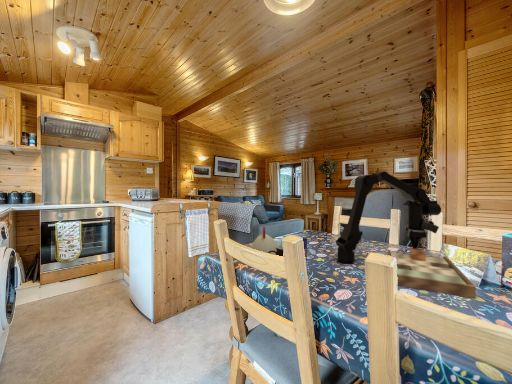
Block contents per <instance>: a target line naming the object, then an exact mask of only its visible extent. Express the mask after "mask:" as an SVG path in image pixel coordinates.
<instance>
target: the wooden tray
mask: <svg viewBox="0 0 512 384" xmlns="http://www.w3.org/2000/svg"><path fill="white" fill-rule="evenodd" d="M388 255H390V256H394V257H396V259H397V267H398V268H397V276H398V285H397V286H399V287H404V288H411V289H416V290H423V291H430V292H436V293H442V294H448V295H453V296H459V297H466V298H471V299H476V298H477V297H476V296H477V295H476V293H477V292H476V290H477V287H476V285H475V284H473V282H472V281H471V280H470V279H469V278H468V277H467V276H466V275H465V274H464V273H463V272H462V271H461V270H460V269H459V268H458V267H457V265H455V264H454V263H453V261H451V260H450V259H449V258H448V256H446V255H443V257H434V256H427V255H426V261H419V260H411V258H410V253H409V254H406V253H398V252H392V251H391V250H390V249H388V250H387V256H388Z"/></svg>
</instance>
